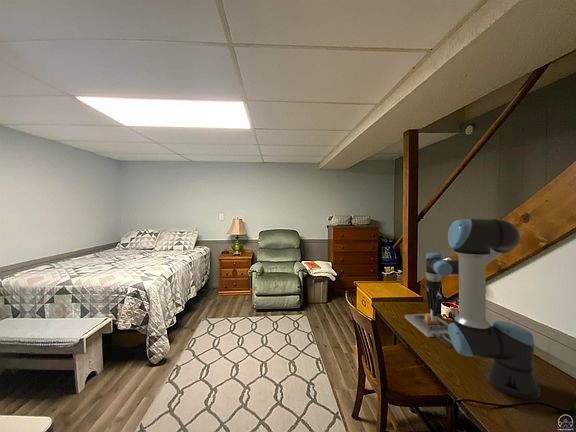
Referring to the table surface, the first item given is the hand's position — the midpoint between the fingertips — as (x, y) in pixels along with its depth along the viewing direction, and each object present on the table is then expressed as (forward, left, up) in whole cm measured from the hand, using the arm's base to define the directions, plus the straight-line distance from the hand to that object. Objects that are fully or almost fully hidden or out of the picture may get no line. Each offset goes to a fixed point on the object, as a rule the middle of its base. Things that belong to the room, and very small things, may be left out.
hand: (433, 320), depth 142 cm
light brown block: (+2, 0, -2) cm, 3 cm away
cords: (-14, +1, -5) cm, 15 cm away
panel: (+3, 0, -5) cm, 6 cm away
